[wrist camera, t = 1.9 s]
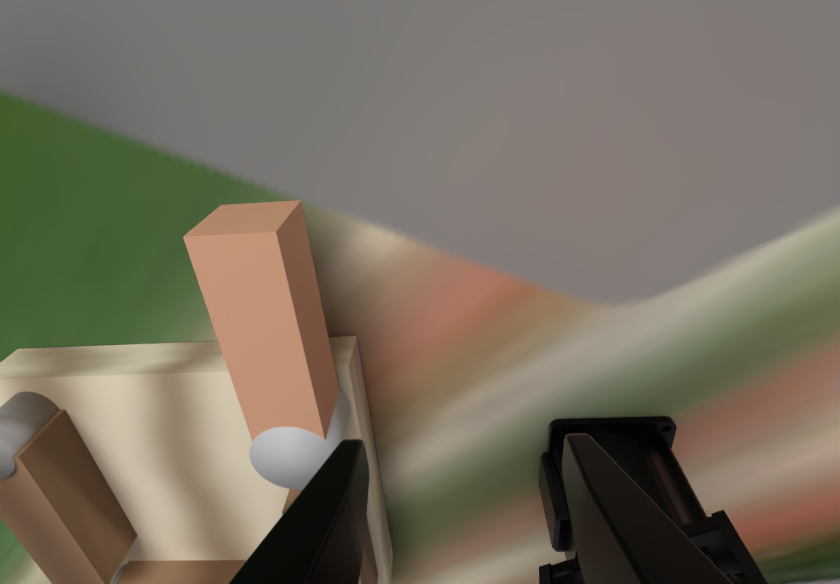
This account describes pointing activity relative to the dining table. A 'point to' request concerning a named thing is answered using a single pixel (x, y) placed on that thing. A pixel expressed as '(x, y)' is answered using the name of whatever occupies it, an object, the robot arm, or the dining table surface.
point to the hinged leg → (272, 334)
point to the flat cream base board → (151, 464)
